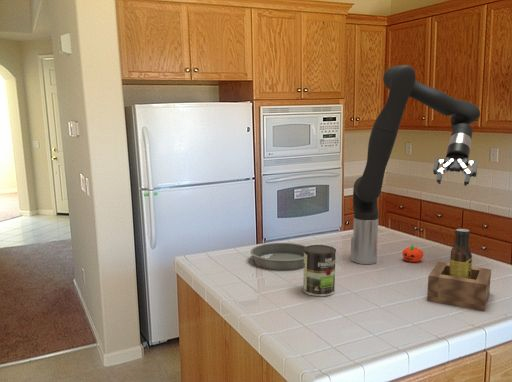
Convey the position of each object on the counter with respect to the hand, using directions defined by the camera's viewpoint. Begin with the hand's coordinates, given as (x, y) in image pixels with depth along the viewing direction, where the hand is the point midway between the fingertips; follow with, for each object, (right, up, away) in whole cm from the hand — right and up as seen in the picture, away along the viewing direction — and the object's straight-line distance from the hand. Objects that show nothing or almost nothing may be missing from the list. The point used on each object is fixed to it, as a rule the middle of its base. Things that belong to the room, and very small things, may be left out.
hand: (452, 183), depth 164 cm
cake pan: (-58, -31, +20) cm, 69 cm away
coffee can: (-48, -35, -11) cm, 61 cm away
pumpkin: (-7, -30, +20) cm, 37 cm away
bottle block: (-5, -36, -17) cm, 40 cm away
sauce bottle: (-5, -34, -17) cm, 39 cm away
